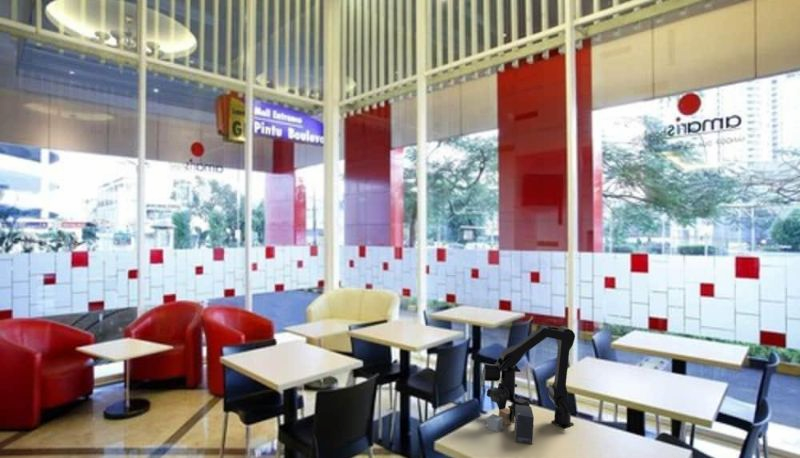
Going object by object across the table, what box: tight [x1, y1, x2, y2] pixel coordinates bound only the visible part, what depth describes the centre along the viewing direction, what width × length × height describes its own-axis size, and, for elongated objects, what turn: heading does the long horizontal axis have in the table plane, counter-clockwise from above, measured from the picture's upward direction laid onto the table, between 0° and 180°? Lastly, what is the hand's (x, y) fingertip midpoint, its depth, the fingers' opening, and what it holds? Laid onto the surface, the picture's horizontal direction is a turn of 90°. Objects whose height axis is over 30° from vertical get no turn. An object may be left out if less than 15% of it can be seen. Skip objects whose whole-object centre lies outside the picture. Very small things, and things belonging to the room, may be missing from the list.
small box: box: [513, 405, 535, 445], centre depth 170 cm, size 11×6×10 cm, turn 169°
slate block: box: [486, 413, 504, 433], centre depth 176 cm, size 4×4×4 cm
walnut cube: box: [498, 407, 515, 426], centre depth 183 cm, size 4×4×4 cm
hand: (506, 419), depth 183 cm, fingers closed on walnut cube, 4 cm apart
